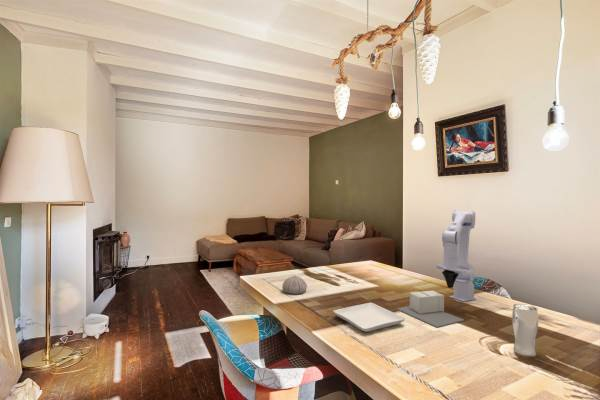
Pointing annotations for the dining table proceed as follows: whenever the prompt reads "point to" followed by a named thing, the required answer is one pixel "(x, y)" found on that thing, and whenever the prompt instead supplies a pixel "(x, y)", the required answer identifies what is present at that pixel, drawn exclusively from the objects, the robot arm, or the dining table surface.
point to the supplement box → (426, 302)
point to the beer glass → (525, 329)
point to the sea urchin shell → (294, 285)
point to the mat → (432, 317)
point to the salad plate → (369, 316)
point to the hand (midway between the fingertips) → (450, 287)
